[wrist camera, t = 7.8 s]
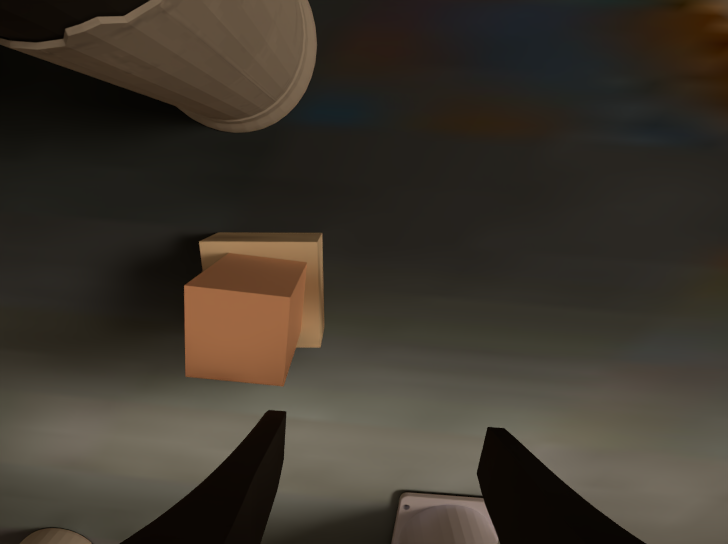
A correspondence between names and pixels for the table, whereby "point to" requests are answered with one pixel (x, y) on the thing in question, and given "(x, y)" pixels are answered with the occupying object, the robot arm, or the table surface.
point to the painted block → (244, 319)
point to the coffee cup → (55, 537)
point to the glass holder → (179, 51)
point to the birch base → (285, 248)
